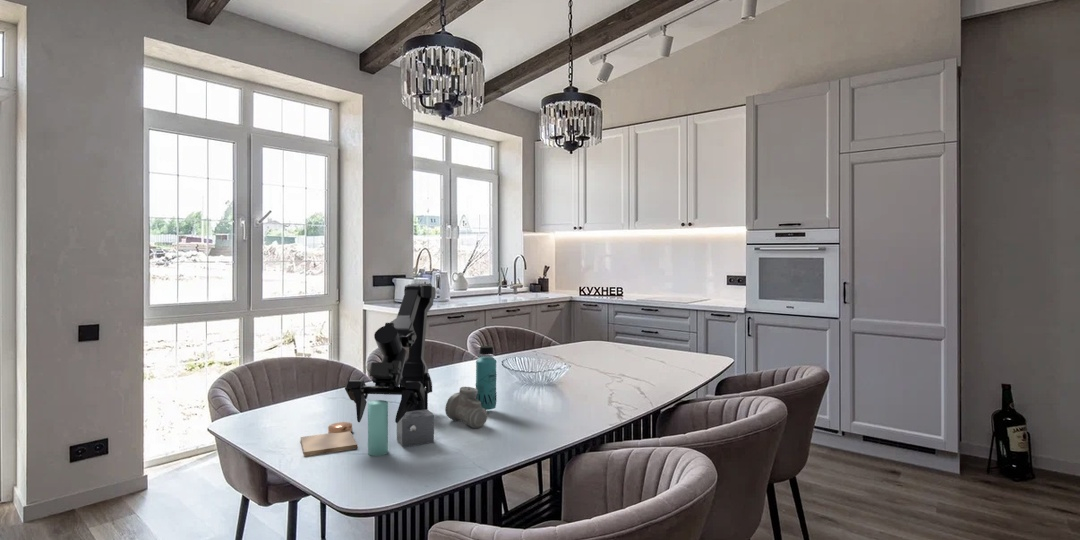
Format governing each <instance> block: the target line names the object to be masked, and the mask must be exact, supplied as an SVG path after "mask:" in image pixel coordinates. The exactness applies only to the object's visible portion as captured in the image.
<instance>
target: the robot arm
mask: <svg viewBox="0 0 1080 540" xmlns="http://www.w3.org/2000/svg"><path fill="white" fill-rule="evenodd" d="M403 289H404V293H403V297H402V301H401V303H400V307H399V309H398V312H397V316H396V318H394V319H393V320H391V321H390V322H385V324H384V325H383V326H380V327H379V328H378V329H377V330H376V331H375V332H374V335H373V336H374V340H375V343H376V346H377V348H378V351H379V353H380V355H382V356H383V357H382V359H381V362H377V361H376V362H375V361H373V362H370V369H369V377H372V380H371V381H372V383H373V384H374V385H366V383H365V381H364V380H363V379H362V380H360V379H358V380H357V379H349V380H348V381H347V382H346V383H345V387H344V391H346V394H347V395H348V398H349V399H350V401H353V403H355V409H356V420H357V422H358V423H361V421H362V419H363V415H364V413H365V410H366V406H367V404H368V402H367V400H366V399H368V396H369V395H386V396H387V395H388V396H389V395H391V396H400V397H401V398H400V402H399V406H398V407H397V411H396V415H395V420H394V423H395V424H397V423H398V422H399V421H400V420H401V418H402V417H403V416H404V415H405V413H406V412H409V411H417V410H425V409H428V408H429V407H428V405H429V403H428V402H429V397H428V396H429V395H428V394H429V393H432V392H433V382H432V378H431V375H430V373H429V367H428V366H427V363H426V360H425V359H424V358H425V345H426V332H427V319H428V312H429V311H430V309H431V308H432V306H434V301H435V300H434V299H435V298H436V297H437V296H436V294H437V291H436V287H435V286H433V285H432V283H410V284H406V285H405V286H404V288H403ZM406 348H408V355H407V351H406ZM407 356H408V358H407ZM428 410H429V409H428Z"/></svg>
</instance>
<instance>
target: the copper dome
mask: <svg viewBox="0 0 1080 540" xmlns="http://www.w3.org/2000/svg"><path fill="white" fill-rule="evenodd" d="M327 427H328V428H327V429H328V431H327V434H328V433H336V432H343V431H350V432H352V433H353V423H351V422H347V421H344V422H343V421H342V422H335V423H331V424H329V425H328V426H327Z"/></svg>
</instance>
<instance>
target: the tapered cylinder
mask: <svg viewBox="0 0 1080 540" xmlns="http://www.w3.org/2000/svg"><path fill="white" fill-rule="evenodd" d="M388 452H389V402H388V401H387V400H381V399H379V400H378V399H376V400H373V401H369V402H367V454H368V456H370V457H371V456H372V457H380V456H384V455H386V454H388Z"/></svg>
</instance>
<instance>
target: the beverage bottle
mask: <svg viewBox="0 0 1080 540" xmlns="http://www.w3.org/2000/svg"><path fill="white" fill-rule="evenodd" d="M479 354H480V355H487V356H480V357H478V358H477V360H475V367H476V368H475V384H474V385H475V389H477V390H478V391H477V395H476V399H477V400H479V401H480V402H481V407H483V408H484V409H485V410H486V411H488V410H493V409H495V408H496V407H497V394H498V393H497V377H498V376H497V375H498V373H497V360H496V358H494V356H488V355H492V354H493V355H494V347H493V346H492V345H483V346H480V347H479Z"/></svg>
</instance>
